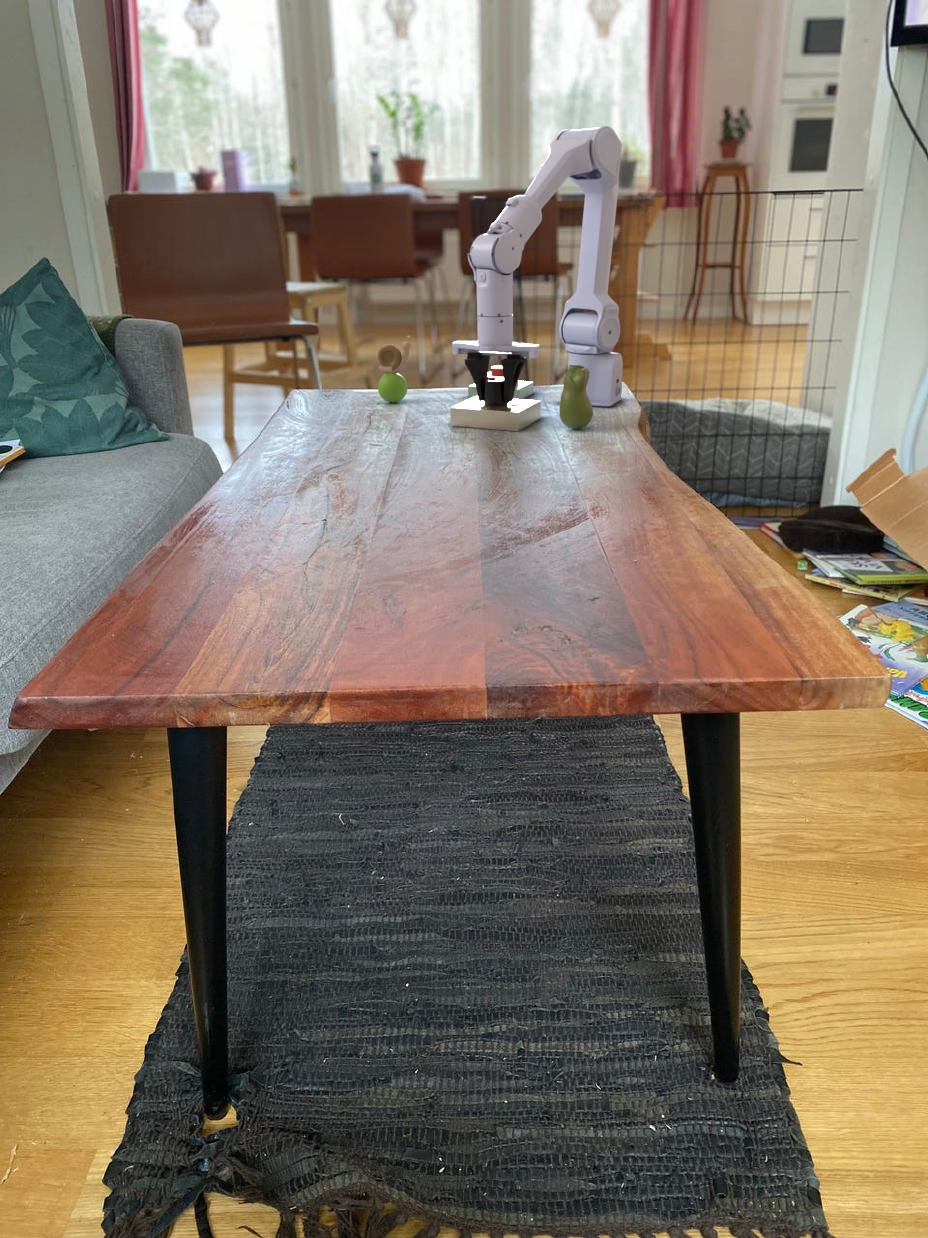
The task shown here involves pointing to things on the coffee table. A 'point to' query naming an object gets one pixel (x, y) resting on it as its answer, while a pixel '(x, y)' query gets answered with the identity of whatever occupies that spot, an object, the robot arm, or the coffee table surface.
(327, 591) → the coffee table surface
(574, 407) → the pear
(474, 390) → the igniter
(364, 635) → the coffee table surface
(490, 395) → the stove knob
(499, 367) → the button
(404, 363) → the snail figurine
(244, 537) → the coffee table surface
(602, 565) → the coffee table surface
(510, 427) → the panel
